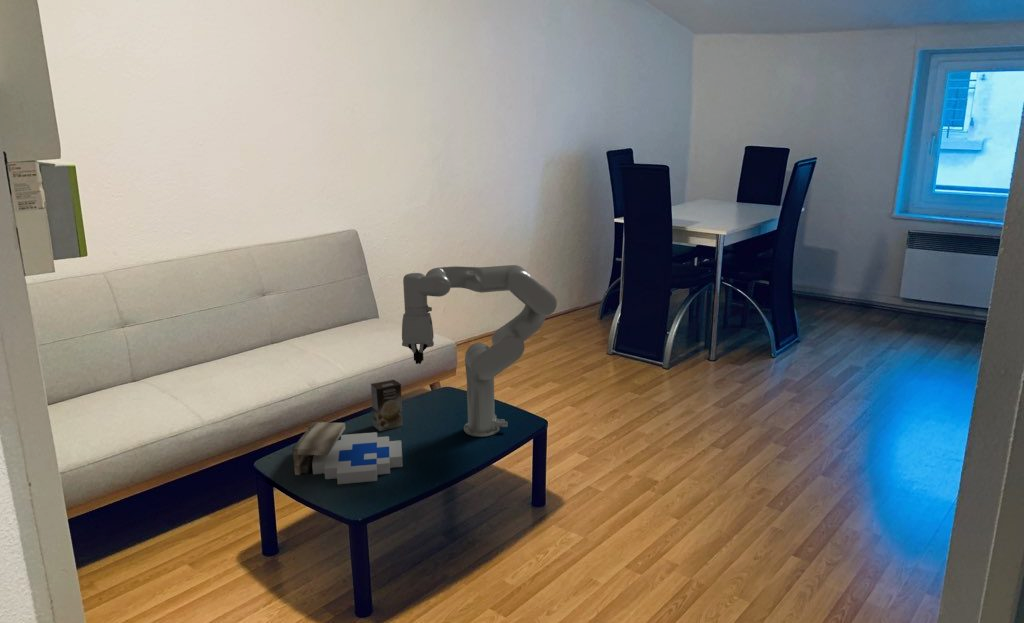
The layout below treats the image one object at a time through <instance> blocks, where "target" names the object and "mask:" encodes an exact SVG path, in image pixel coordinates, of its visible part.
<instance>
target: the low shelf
mask: <svg viewBox="0 0 1024 623" xmlns="http://www.w3.org/2000/svg"><path fill="white" fill-rule="evenodd" d="M345 430H346V423H345V422H324V421H322V422H319V421H318V422H316V421H315V422H314V421H313V422H312V423H311V424H310V425H309V426H308V428H307V429H306V430H305V432H304V434H303V435H302V436H301V437H300V439H298V441H297V443H296V444H295V445H294V446H293V447H292V456H293V457H292V458H293V466H294V475H296V476H300V475H301V474H303V473H304V474H307V473H309V472H310V470H311V468H312V462H313V457H314V456H313V455H328V454H329V452H330V451H331V449H332V448H333V446H334V445H335V443H336V442H337V440H340V438H341V435H343V433H344V432H345Z"/></svg>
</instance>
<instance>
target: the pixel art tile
mask: <svg viewBox="0 0 1024 623" xmlns="http://www.w3.org/2000/svg"><path fill="white" fill-rule="evenodd" d="M402 446H403V445H402V439H401V440H400V439H399V440H390V436H389V435H388V436H378V432H377V431H376V432H375V431H374V432H362V433H351V434H350V433H349V434H341V436H340V439H338V440H337V442H336V443H335V445H334V446H333V448H332V449H331V451H330V452H329V454H328V455H314V456H313V457H312V467H311V468H312V474H313V475H321V474H322V473H323V474H324V479H325V480H330V479H336V480H337V485H343V484H344V485H345V484H347V485H348V484H354V483H355V484H357V483H365V482H366V483H367V482H369V483H370V482H378V475H380V476H381V475H388V474H391V469H393V468H402V467H403V466H404V464H403V450H402V448H403V447H402Z"/></svg>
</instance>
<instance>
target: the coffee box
mask: <svg viewBox="0 0 1024 623" xmlns="http://www.w3.org/2000/svg"><path fill="white" fill-rule="evenodd" d="M370 390H371V410H372V425H373V427H374V428H375V429H377V431H379V432H382V431H387V430H390V429H391V430H392V429H396V428H399V427H403V426H404V425H403V405H402V404H403V402H402V384H401V383H400V382H399V381H397V380H395V379H390V380H384V381H380V382H379V381H378V382H374V383H373V382H372V383H370Z"/></svg>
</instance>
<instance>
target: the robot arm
mask: <svg viewBox="0 0 1024 623" xmlns="http://www.w3.org/2000/svg"><path fill="white" fill-rule="evenodd" d="M402 280H403V281H402V283H403V285H402V286H403V299H404V301H403V302H404V313H403V315H402V321H401V322H402V323H401V340H402V342H401V343H402V344H401V346H402V347H405V348H409V350H410V351H412V353H413V362H415V364H416V365H418V364H419V365H421V364H422V363H423V361H424V351H425V350H426V349H428V348H432V347H434V345H435V343H434V338H435V335H434V328H433V325H434V324H433V320H432V316H431V313H430V312H432V310H433V308H432V306H431V307H430V306H429V305H428V297H435V298H436V297H437V298H438V297H444V296H446V295H447V294H448V293H449V292H450V291H451V289H455V288H458V289H467V290H470V291H472V292H475V293H480V294H481V293H483V294H484V293H492V292H493V293H495V292H504V291H505V292H506V291H507V292H508V291H509V292H510V293H511V294H512V295H513V296H514V297H516V298H517V299H518V300H519V301H521V303H522V304H524V307H523V309H522V311H520V313H518V314H517V315H516V316H515V317H514V318H512V319H511V320H509V321H508V322H506V323H505V324H504V325H502V326H500V327H499V328H498V329H496V330H495V332H493V334H492V336H491V343H492V345H491V346H490V347H489V346H488V345H487V344H486V343H482V342H475V343H472V344H471V345H470V346H469V347H468V348H467V349H466V351H465V354H464V366H465V374H466V375H465V378H466V402H467V423H465V424H464V426H463V431H464V432H465V434H467V435H469V436H471V437H475V438H476V437H478V438H479V437H480V438H484V437H490V436H493V435H496V434H497V433H498V432H500V427H502V428H508V421H505V419H503V418H500V419H499V418H497V414H496V413H495V411H496V410H495V406H496V405H495V377H496V376H498V375H500V373H502V372H504V371H505V370H507V369H508V368H509V367H511V366H512V365H513V364H514V363H516V362H518V360H519V359H520V358H521V357H522V356H523V355H524V351H525V347H526V346H525V341H527V340H528V339H529V338H530V337H532V336H533V335H534V334H536V333H537V332H538V331H539V330H540V328H541V327H542V326H543V324H544V322H545V321H546V317H547V316H550V315H552V314H553V313H554V312H555V311H556V309H557V305H558V302H557V301H558V300H557V298H556V296H555V295H554V293H553V292H552V291H550V290H549V289H548V288H547V287H546V286H545V285H543V284H541V283H540V282H539V281H537V280H536V279H535V278H534V277H533V276H532V275H531V274H529V272H528V271H526V270H525V269H524V268H523V267H522V266H521V265H517V264H509V265H497V266H496V265H493V266H481V267H479V266H477V267H476V266H456V265H455V266H454V265H453V266H443V267H442V266H441V267H433V268H431V269H430V270H428V271H427V272H426V274H423V273H420V272H413V273H412V272H411V273H407V274H405V275H404V276H403V278H402ZM418 345H419V349H418Z"/></svg>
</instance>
